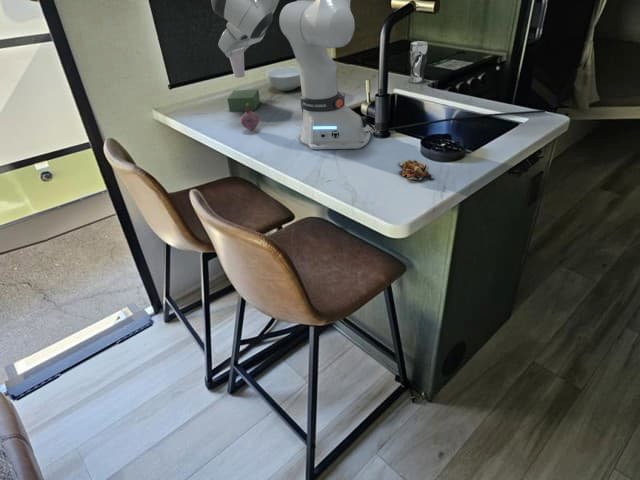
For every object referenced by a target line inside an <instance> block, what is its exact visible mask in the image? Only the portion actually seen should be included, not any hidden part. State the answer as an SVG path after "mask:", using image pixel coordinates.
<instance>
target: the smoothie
mask: <svg viewBox="0 0 640 480" xmlns="http://www.w3.org/2000/svg"><path fill="white" fill-rule="evenodd" d="M231 53H232V55H231V56H230V57H228V59H229V62H230V65H231V69H232V72H233V75H234V78H238V79H240V78H244V77H245V76H246V75H245V74H246V73H245V71H246V70H245V52H244V48H240V49H237V50H234V51H232V52H231Z"/></svg>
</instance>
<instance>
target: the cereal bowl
mask: <svg viewBox="0 0 640 480" xmlns="http://www.w3.org/2000/svg"><path fill="white" fill-rule="evenodd" d="M265 74H266V75H265V77H266V80H267V83H268V84H269V85H270V86H271V87H272V88H274V89H277V90H279V91H280V92H281V91H282V92H288V91H294V90H296V89H297V88H298V87H301V81H300V72H299V67H298V66H279V67H274V68H270V69H269V70H267V71H266V73H265Z"/></svg>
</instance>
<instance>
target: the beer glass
mask: <svg viewBox="0 0 640 480" xmlns="http://www.w3.org/2000/svg"><path fill="white" fill-rule="evenodd" d="M428 44H429V43H428V41H424V40H418V41H417V40H416V41H411V42H410V49H409V65H410V76H409V79H408V80H409V83H411V84H421V83H424V82H425V68H426V64H427V59H428V48H429V47H428V46H429V45H428Z"/></svg>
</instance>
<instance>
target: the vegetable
mask: <svg viewBox="0 0 640 480" xmlns="http://www.w3.org/2000/svg"><path fill="white" fill-rule="evenodd" d="M240 123H241V125H242V126H243V127H244V128H245V129H247V130H249V131H251V132H252V131H254V130H256V128H257V127H258V125H259V124H260V116H259V115H258V114H257V113H256V112H254V111H250V110H249V105H248V103H247V104H246V111H245V113H244V114H242V115H241V117H240Z"/></svg>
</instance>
